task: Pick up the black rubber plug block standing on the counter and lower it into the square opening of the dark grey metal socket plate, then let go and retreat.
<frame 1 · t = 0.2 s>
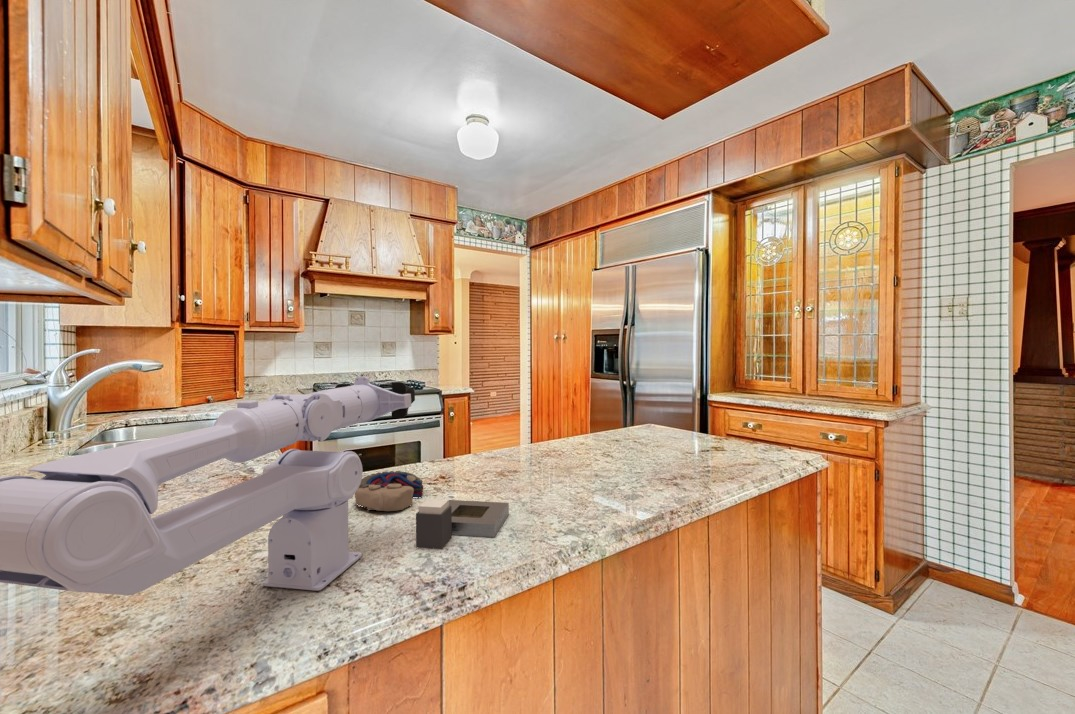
hand: (392, 395, 78), 21 cm above the countertop, tool horizontal, fingers open, 7 cm apart
plug: (434, 542, 67), on the countertop
anatomical model: (390, 502, 86), on the countertop
socket plate: (470, 523, 74), on the countertop
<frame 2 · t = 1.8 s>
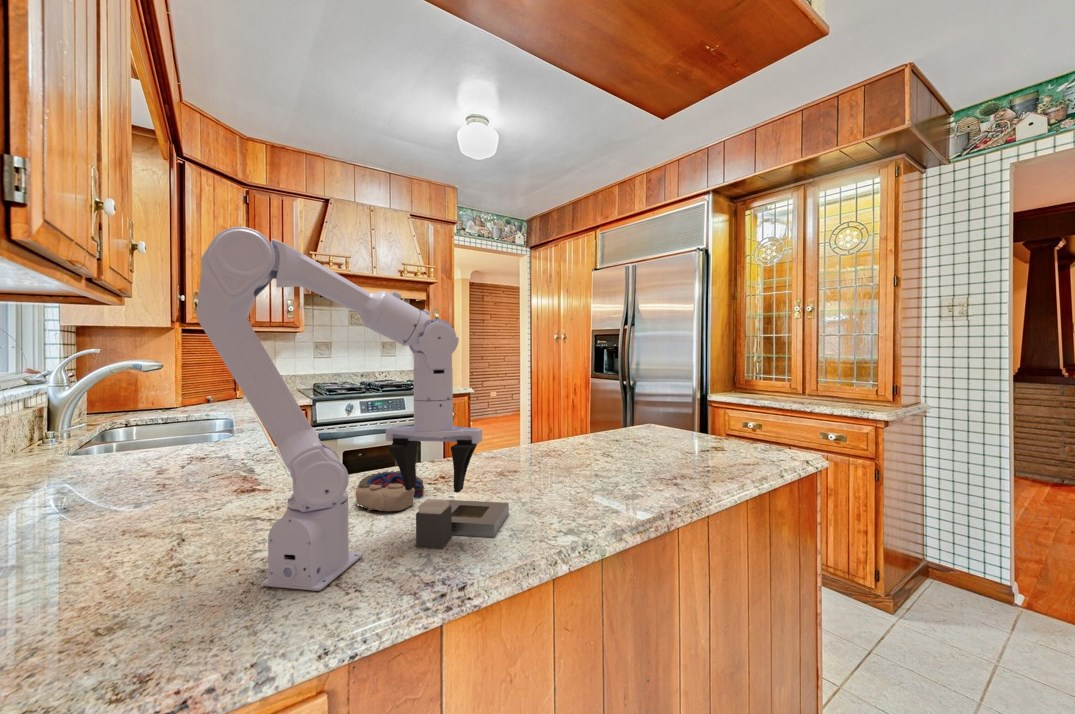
hand: (434, 489, 67), 8 cm above the countertop, tool pointing down, fingers open, 7 cm apart
nothing on the countertop moved.
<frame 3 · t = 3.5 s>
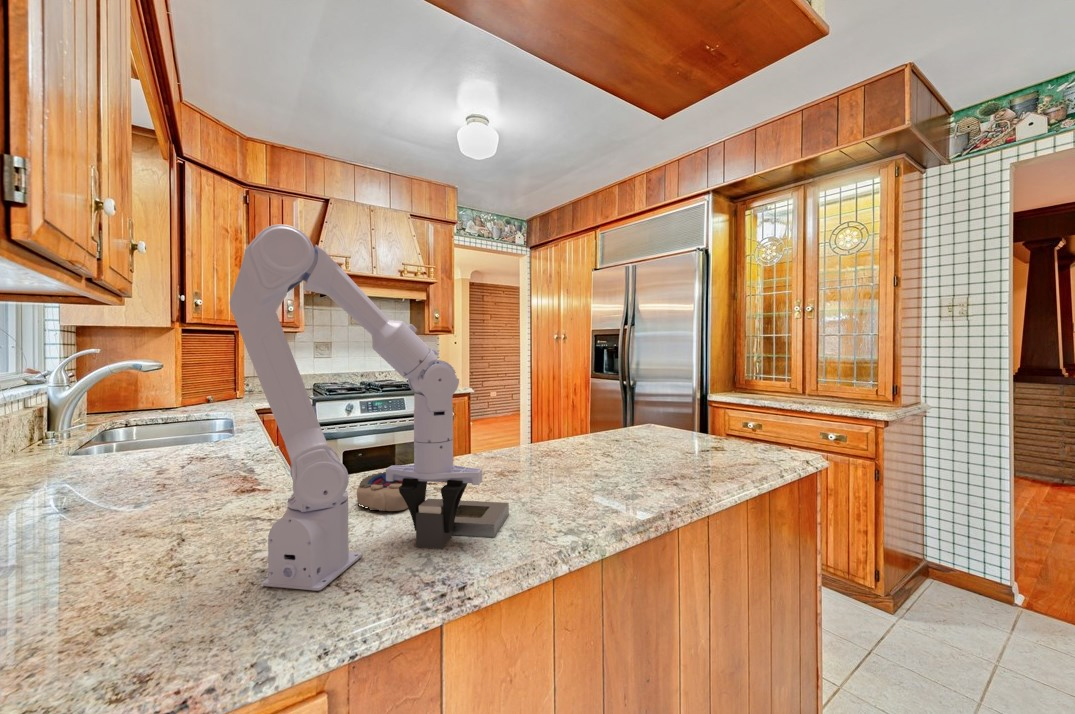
hand: (434, 529, 67), 2 cm above the countertop, tool pointing down, fingers closed on plug, 4 cm apart
plug: (434, 542, 67), on the countertop, touching gripper
everything else where it was.
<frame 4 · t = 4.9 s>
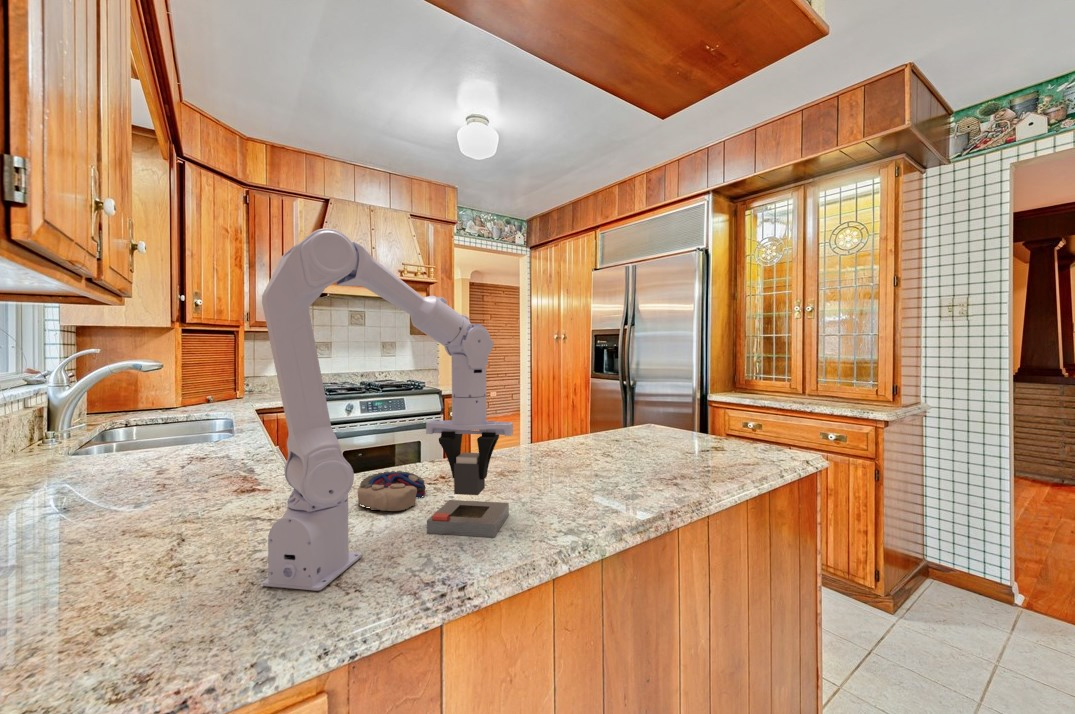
hand: (469, 477, 74), 8 cm above the countertop, tool pointing down, fingers closed on plug, 4 cm apart
plug: (469, 490, 74), point 5 cm above the countertop, touching gripper
everything else where it was.
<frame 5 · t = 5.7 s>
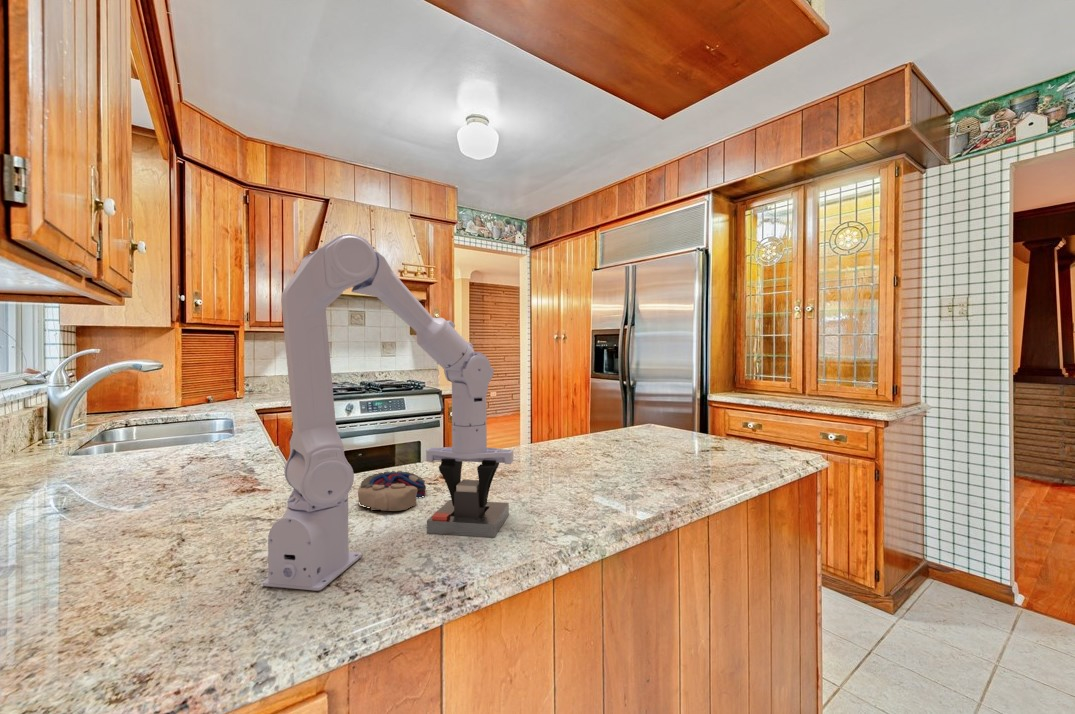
hand: (469, 504, 74), 3 cm above the countertop, tool pointing down, fingers closed on plug, 4 cm apart
plug: (469, 518, 74), point 1 cm above the countertop, touching gripper
everything else where it was.
when the fingers open (3 cm above the countertop, at t = 6.5 s): plug stays where it is, resting on socket plate.
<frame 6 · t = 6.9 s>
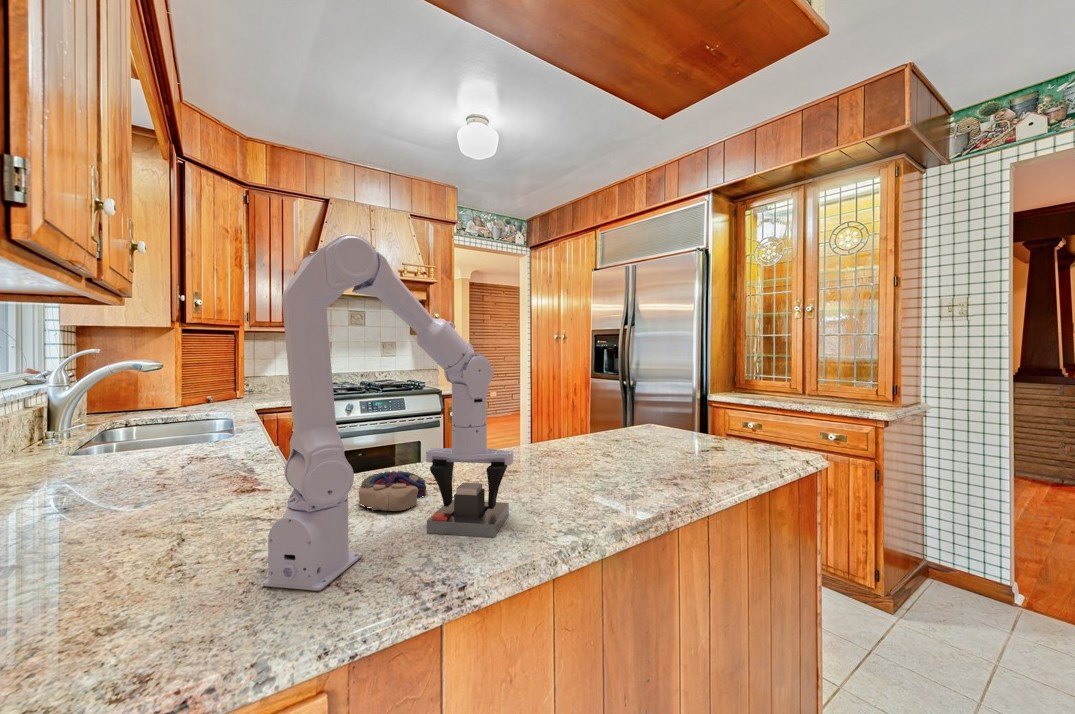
hand: (469, 505, 74), 3 cm above the countertop, tool pointing down, fingers open, 7 cm apart
plug: (469, 521, 74), resting on socket plate
everything else where it was.
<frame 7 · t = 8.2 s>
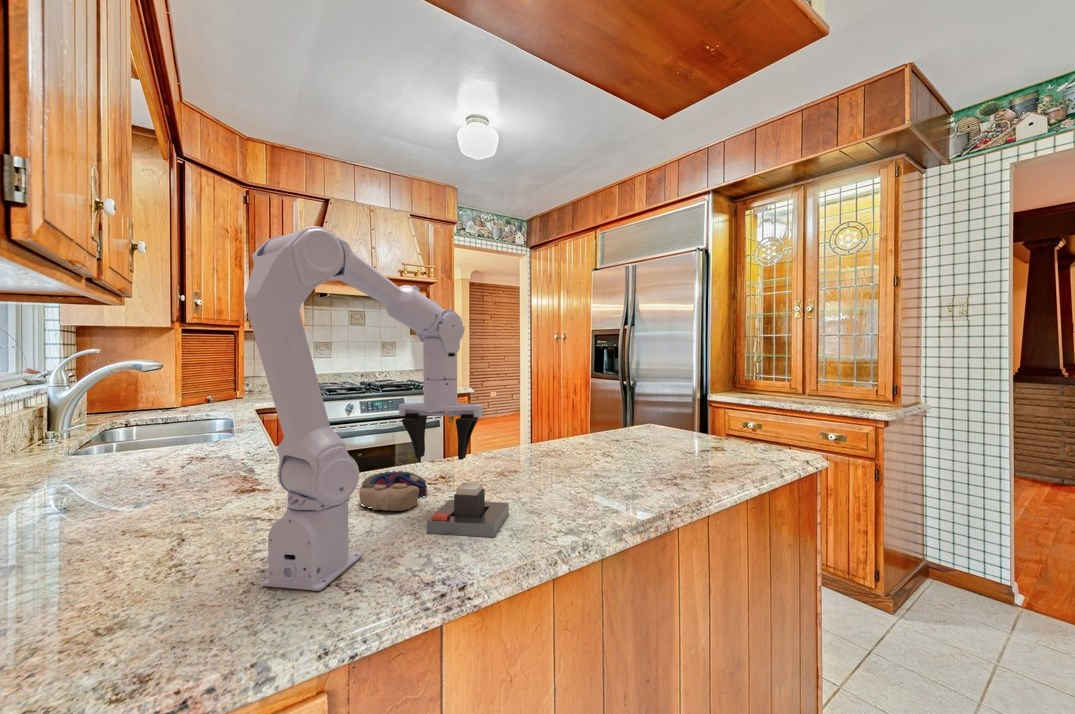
hand: (440, 457, 77), 10 cm above the countertop, tool pointing down, fingers open, 7 cm apart
nothing on the countertop moved.
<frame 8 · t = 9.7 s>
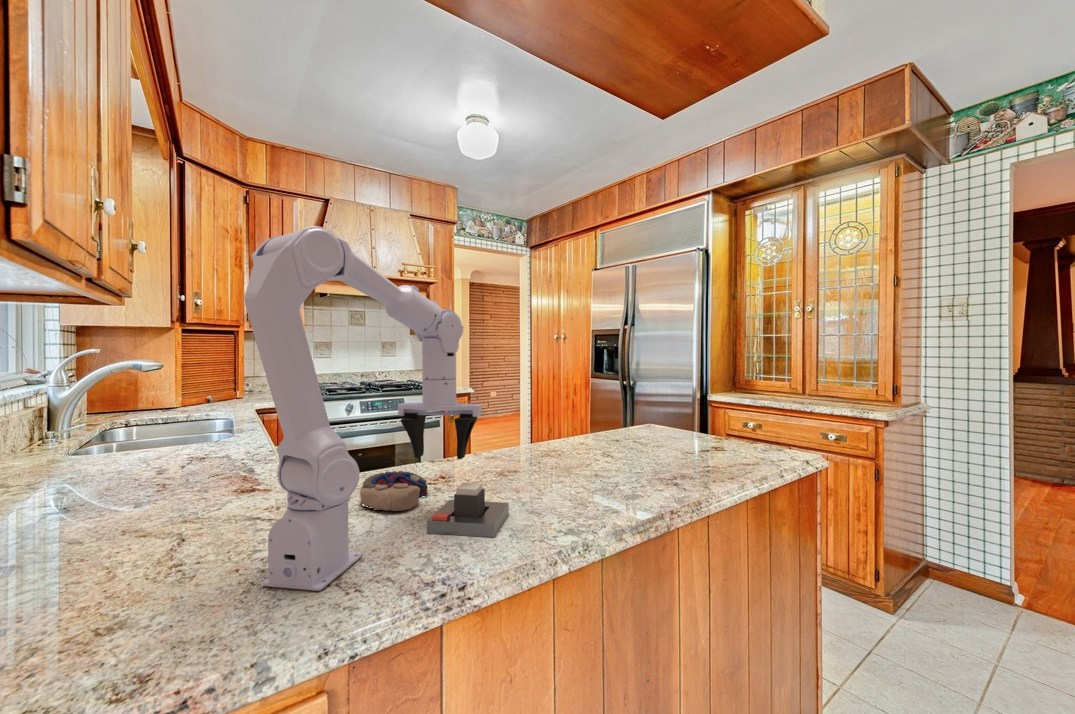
hand: (439, 457, 77), 10 cm above the countertop, tool pointing down, fingers open, 7 cm apart
nothing on the countertop moved.
at the end: plug 0.1 cm off-centre on the socket plate, point 0.3 cm above the socket plate's base; plug tilted 0°; the gripper is holding nothing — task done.
